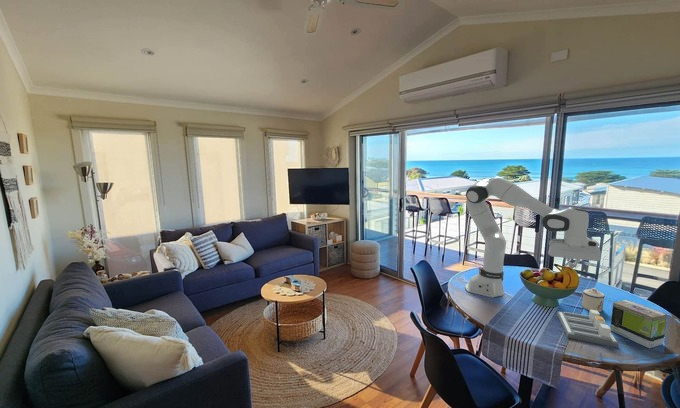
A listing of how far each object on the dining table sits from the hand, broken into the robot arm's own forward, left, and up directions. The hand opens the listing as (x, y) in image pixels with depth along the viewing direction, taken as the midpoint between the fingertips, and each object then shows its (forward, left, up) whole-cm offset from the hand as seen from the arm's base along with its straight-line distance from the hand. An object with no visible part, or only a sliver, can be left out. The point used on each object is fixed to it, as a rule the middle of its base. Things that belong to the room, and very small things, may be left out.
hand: (572, 266), depth 145 cm
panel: (+6, -6, -29) cm, 30 cm away
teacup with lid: (+16, +22, -29) cm, 40 cm away
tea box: (+25, -4, -29) cm, 39 cm away
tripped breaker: (+11, -6, -27) cm, 30 cm away
